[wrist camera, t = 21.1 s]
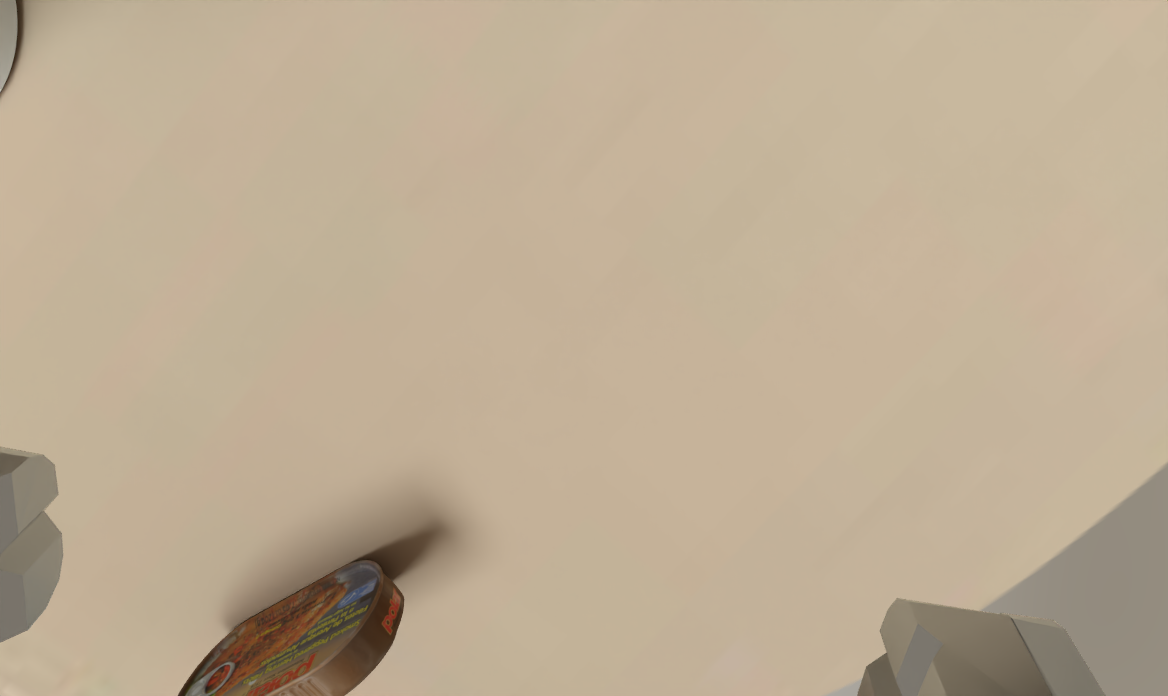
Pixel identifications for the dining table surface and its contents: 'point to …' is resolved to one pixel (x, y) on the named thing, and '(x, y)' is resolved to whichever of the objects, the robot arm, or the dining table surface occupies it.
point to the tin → (307, 640)
